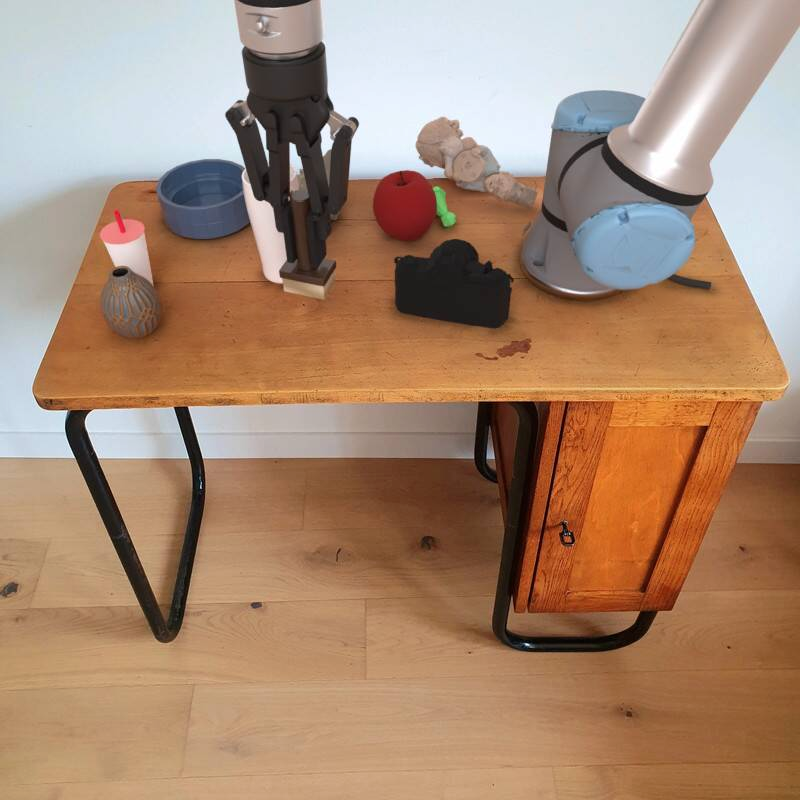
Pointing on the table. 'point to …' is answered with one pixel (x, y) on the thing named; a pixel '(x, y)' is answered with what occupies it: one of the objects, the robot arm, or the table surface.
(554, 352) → the table surface
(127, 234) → the cup
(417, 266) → the film camera
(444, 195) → the game piece
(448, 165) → the figurine
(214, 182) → the bowl
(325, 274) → the brush
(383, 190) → the apple
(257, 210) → the drinking glass
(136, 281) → the vase
